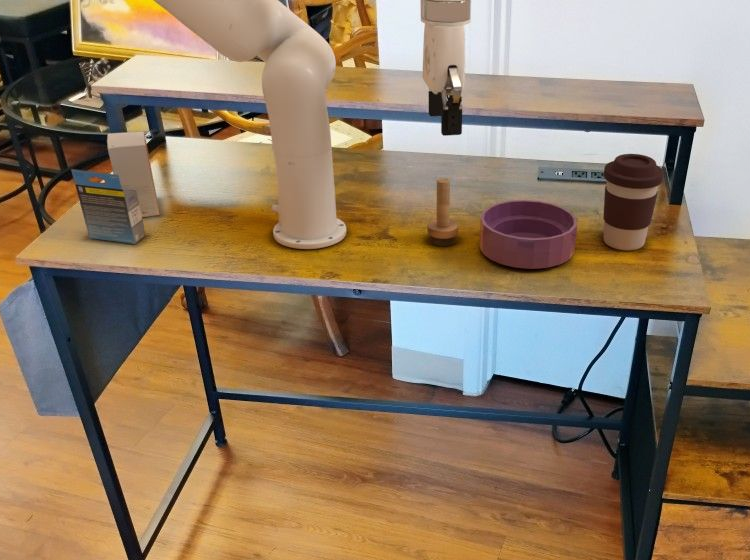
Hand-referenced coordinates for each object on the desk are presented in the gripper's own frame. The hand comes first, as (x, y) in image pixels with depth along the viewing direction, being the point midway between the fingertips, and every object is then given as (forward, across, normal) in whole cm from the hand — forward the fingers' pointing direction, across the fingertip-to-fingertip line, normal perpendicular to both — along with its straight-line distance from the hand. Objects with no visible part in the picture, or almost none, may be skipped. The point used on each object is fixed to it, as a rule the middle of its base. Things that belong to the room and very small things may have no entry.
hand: (444, 124), depth 134 cm
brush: (+20, 0, 0) cm, 20 cm away
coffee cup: (+20, +7, +31) cm, 38 cm away
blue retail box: (+20, -11, -55) cm, 60 cm away
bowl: (+20, +7, +13) cm, 25 cm away
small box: (+20, -23, -52) cm, 60 cm away
